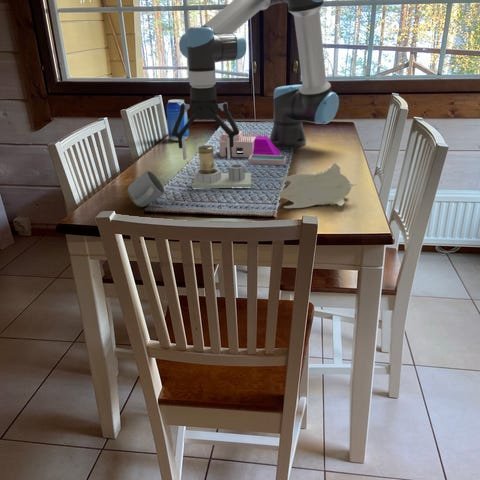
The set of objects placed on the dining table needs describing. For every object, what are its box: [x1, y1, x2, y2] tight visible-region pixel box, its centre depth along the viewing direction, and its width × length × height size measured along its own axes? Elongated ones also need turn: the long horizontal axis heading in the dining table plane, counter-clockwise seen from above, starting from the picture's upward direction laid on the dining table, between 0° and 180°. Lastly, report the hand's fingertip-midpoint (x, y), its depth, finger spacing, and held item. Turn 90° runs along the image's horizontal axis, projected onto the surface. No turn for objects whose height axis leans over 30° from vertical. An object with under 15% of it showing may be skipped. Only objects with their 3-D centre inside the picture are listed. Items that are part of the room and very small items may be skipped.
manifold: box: [191, 163, 252, 189], centre depth 145 cm, size 18×11×6 cm, turn 89°
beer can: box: [166, 98, 190, 142], centre depth 196 cm, size 8×8×16 cm
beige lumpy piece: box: [278, 162, 358, 209], centre depth 129 cm, size 22×12×12 cm, turn 94°
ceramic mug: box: [126, 170, 166, 208], centre depth 127 cm, size 11×8×8 cm
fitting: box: [197, 145, 215, 174], centre depth 143 cm, size 4×4×10 cm
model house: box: [219, 125, 287, 166], centre depth 170 cm, size 25×17×11 cm
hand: (206, 158), depth 143 cm, fingers open, 13 cm apart
